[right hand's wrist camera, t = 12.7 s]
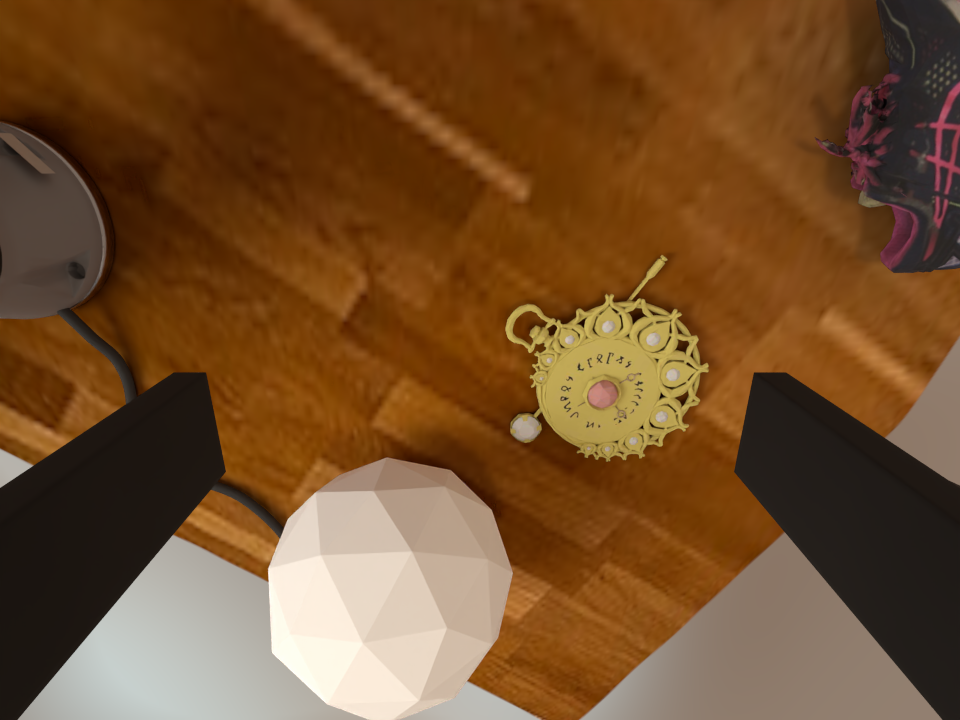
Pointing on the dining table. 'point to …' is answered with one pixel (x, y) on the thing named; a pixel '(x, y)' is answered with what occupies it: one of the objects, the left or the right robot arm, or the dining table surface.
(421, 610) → the sphere
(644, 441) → the decorative object
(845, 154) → the athletic shoe
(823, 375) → the dining table surface
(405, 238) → the dining table surface
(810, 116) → the dining table surface
